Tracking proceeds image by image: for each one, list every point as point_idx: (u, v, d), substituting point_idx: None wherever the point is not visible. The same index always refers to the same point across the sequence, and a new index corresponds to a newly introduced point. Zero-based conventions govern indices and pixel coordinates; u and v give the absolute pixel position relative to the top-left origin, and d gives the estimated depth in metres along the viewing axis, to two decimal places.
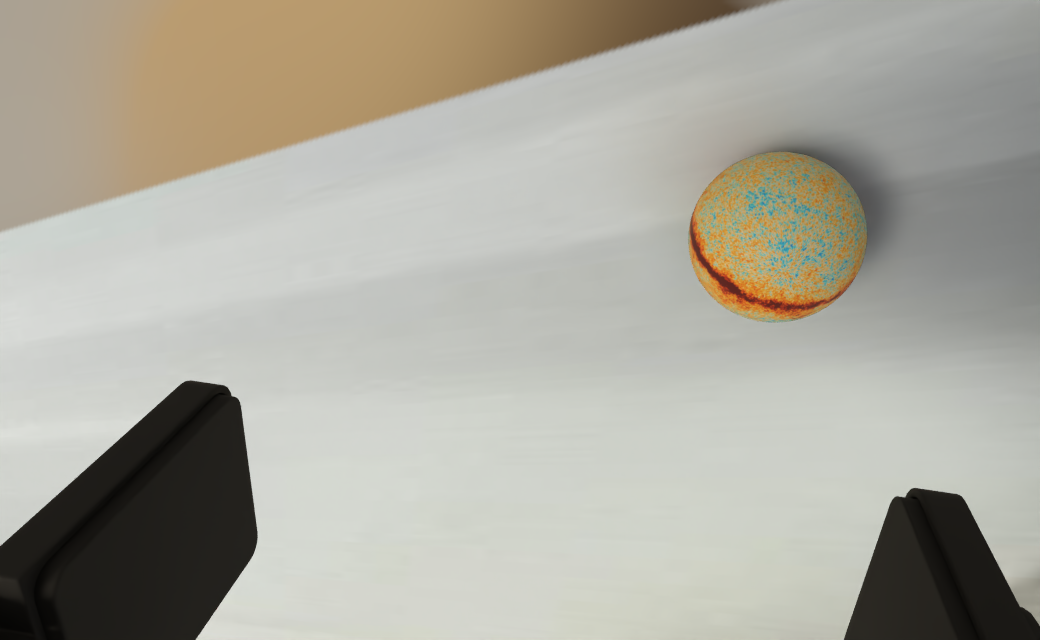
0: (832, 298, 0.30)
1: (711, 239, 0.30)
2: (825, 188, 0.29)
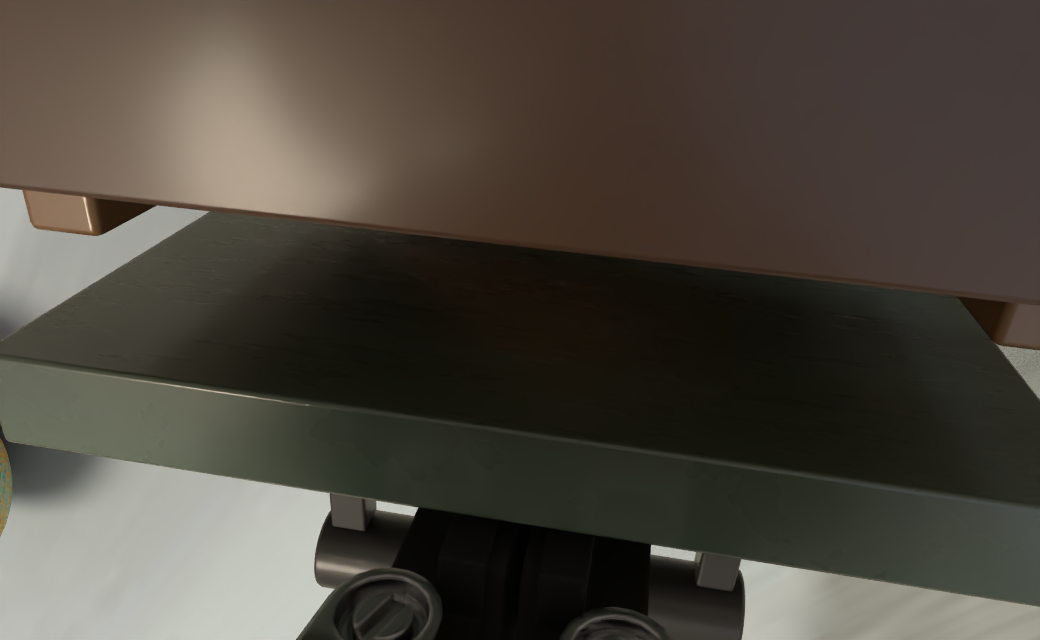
0: None
1: None
2: None
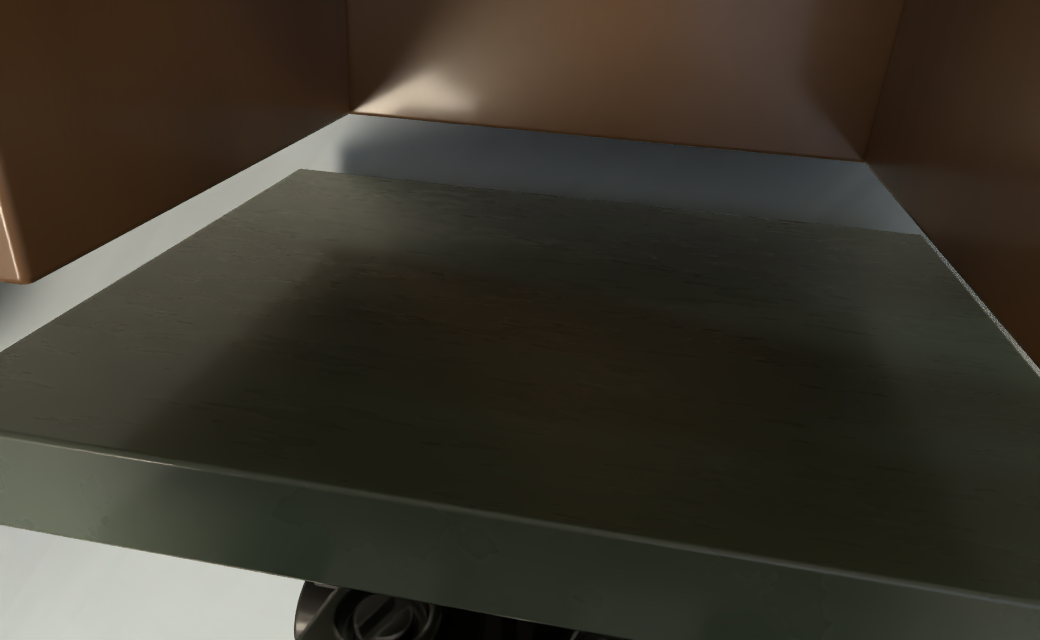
0: None
1: None
2: None
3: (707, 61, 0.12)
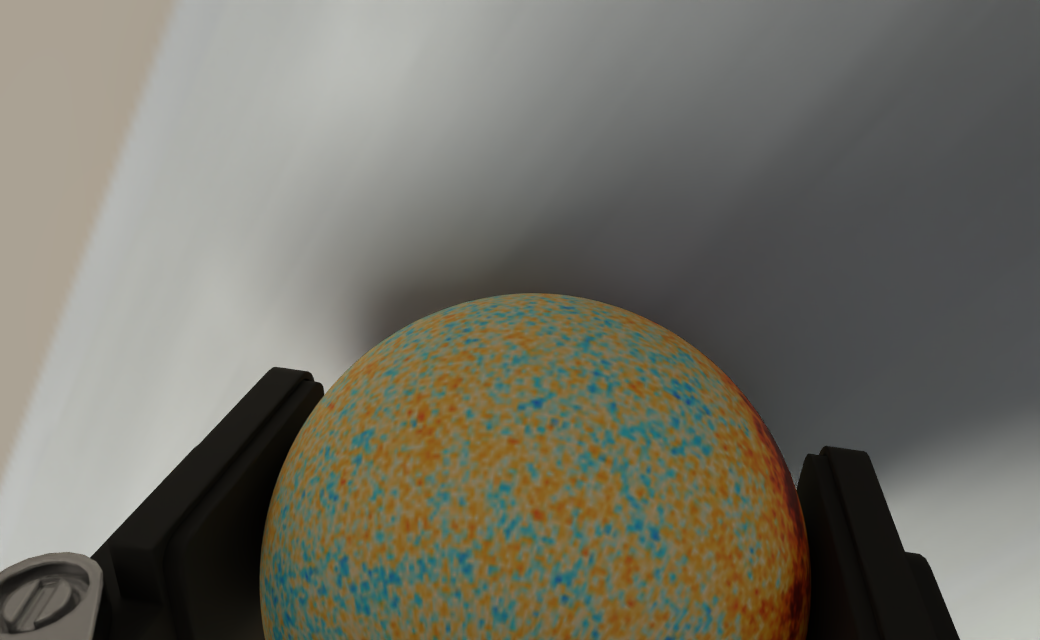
0: None
1: None
2: (429, 448, 0.08)
3: None
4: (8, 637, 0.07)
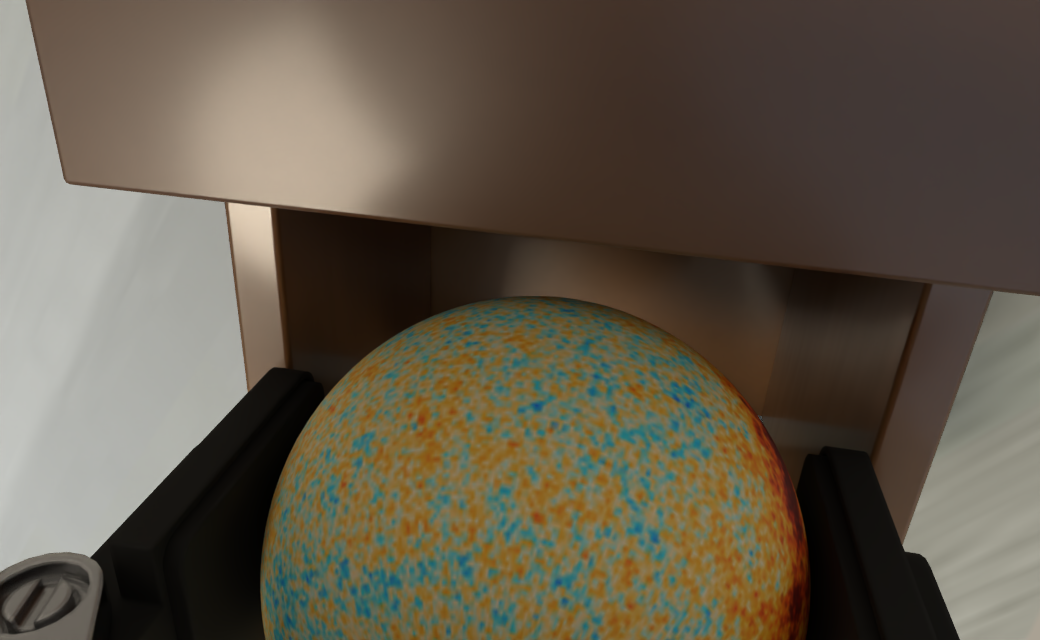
0: None
1: None
2: (429, 450, 0.08)
3: None
4: (10, 637, 0.07)
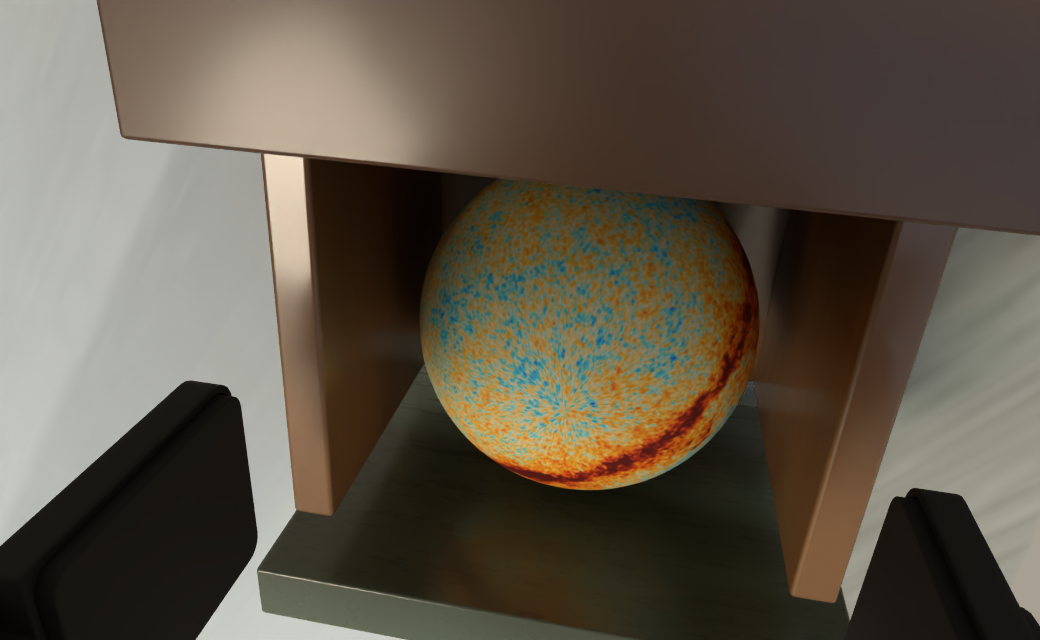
0: (722, 376, 0.14)
1: (451, 417, 0.15)
2: (537, 213, 0.14)
3: None
4: None
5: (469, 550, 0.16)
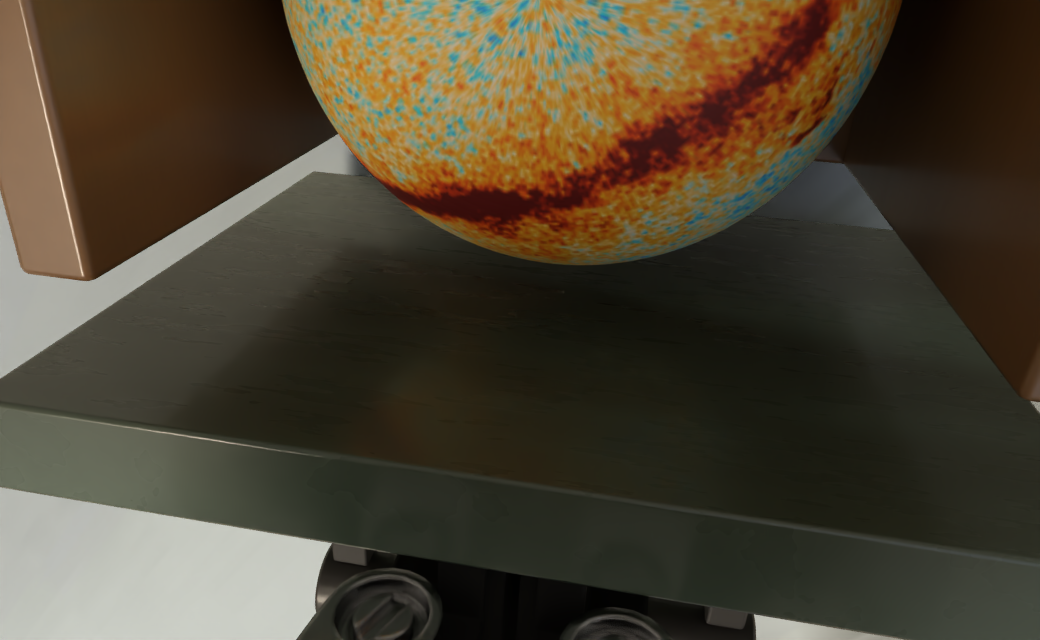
0: None
1: (334, 114, 0.08)
2: None
3: None
4: None
5: (376, 376, 0.09)
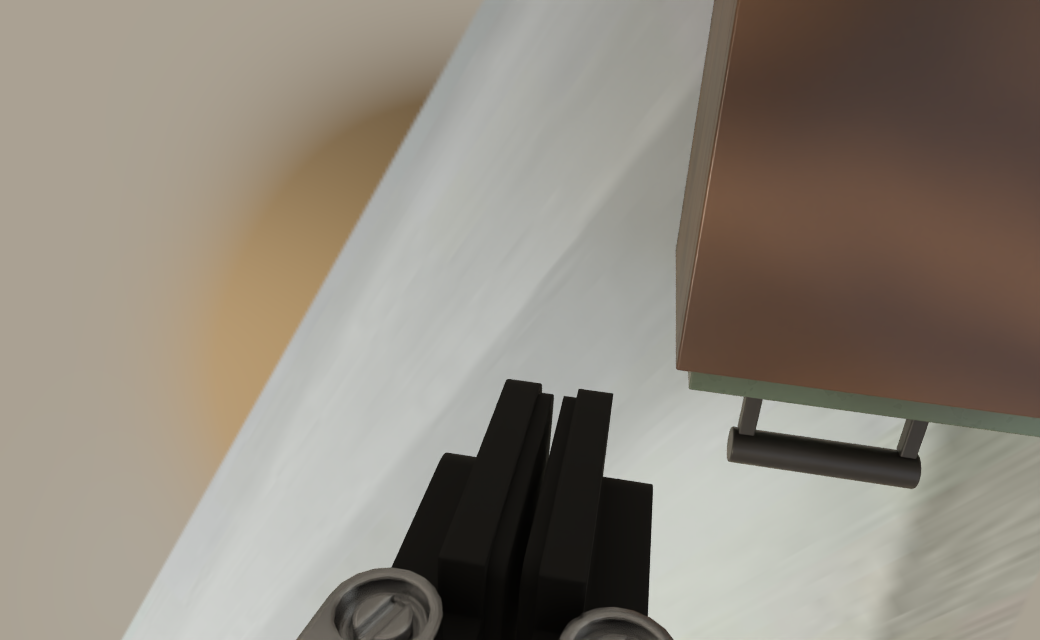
0: None
1: None
2: None
3: None
4: None
5: None
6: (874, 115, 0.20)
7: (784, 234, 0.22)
